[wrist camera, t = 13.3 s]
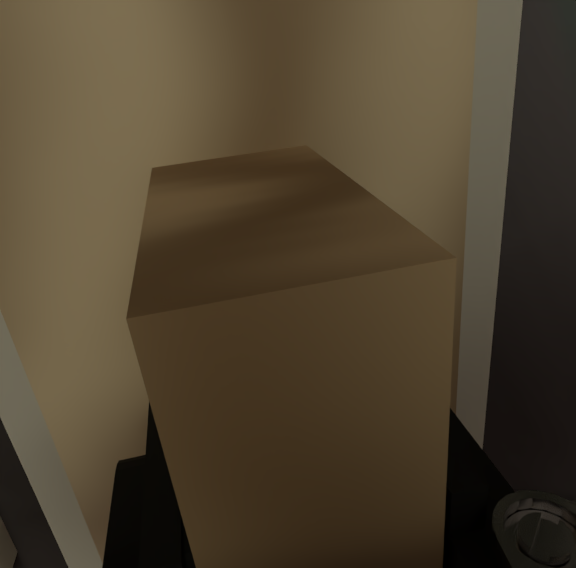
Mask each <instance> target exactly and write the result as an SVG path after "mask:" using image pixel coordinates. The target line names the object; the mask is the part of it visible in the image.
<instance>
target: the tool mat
mask: <svg viewBox="0 0 576 568" xmlns="http://www.w3.org/2000/svg"><path fill="white" fill-rule="evenodd" d="M522 3H523V0H478V3H477V22H476V41H475V60H474V79H473V98H472V117H471V136H470V155H469V174H468V193H467V212H466V231H465V250H464V269H463V288H462V307H461V326H460V345H459V364H458V383H457V402H456V416H457V417H458V419H459V420H460V421H461V422H462V424H463V425H464V426H465V428H466V429H467V430H468V432H469V433H470V434H471V435H472V437H473V438H474V439H475V441H476V442H477V443H478V445H479V446H480V447H481V449H482V450H483V439H484V427H485V416H486V405H487V394H488V383H489V372H490V360H491V349H492V338H493V327H494V316H495V304H496V293H497V282H498V271H499V260H500V249H501V237H502V226H503V215H504V204H505V193H506V182H507V170H508V159H509V148H510V137H511V126H512V115H513V103H514V92H515V81H516V70H517V59H518V48H519V36H520V25H521V14H522ZM0 418H1V420H2V422H3V424H4V427H5V429H6V431H7V433H8V435H9V438H10V440H11V442H12V444H13V446H14V449H15V451H16V453H17V455H18V457H19V460H20V462H21V464H22V466H23V468H24V471H25V473H26V475H27V477H28V479H29V482H30V484H31V486H32V488H33V490H34V493H35V495H36V497H37V499H38V501H39V504H40V506H41V508H42V510H43V512H44V514H45V517H46V519H47V521H48V523H49V525H50V528H51V530H52V532H53V534H54V536H55V539H56V541H57V543H58V545H59V547H60V550H61V552H62V554H63V556H64V558H65V561H66V563H67V565H68V567H69V568H102V566H103V564H102V561H101V559H100V556H99V554H98V551H97V549H96V546H95V544H94V541H93V539H92V536H91V534H90V531H89V529H88V526H87V524H86V521H85V519H84V516H83V514H82V511H81V509H80V506H79V504H78V501H77V499H76V497H75V494H74V492H73V489H72V487H71V484H70V482H69V479H68V477H67V474H66V472H65V469H64V467H63V464H62V462H61V459H60V457H59V454H58V452H57V449H56V447H55V444H54V442H53V439H52V437H51V434H50V432H49V429H48V427H47V425H46V422H45V420H44V417H43V415H42V412H41V410H40V407H39V405H38V402H37V400H36V397H35V395H34V392H33V390H32V387H31V385H30V382H29V380H28V377H27V375H26V372H25V370H24V367H23V365H22V362H21V360H20V358H19V355H18V353H17V350H16V348H15V345H14V343H13V340H12V338H11V335H10V333H9V330H8V328H7V325H6V323H5V320H4V318H3V315H2V313H1V310H0Z"/></svg>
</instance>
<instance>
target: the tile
mask: <svg viewBox="0 0 576 568" xmlns="http://www.w3.org/2000/svg"><path fill="white" fill-rule="evenodd" d="M16 555H17V550H16V548H15V546H14V544H13V542H12V540H11V538H10V536H9V533H8V531H7V529H6V527H5V525H4V523H3V521H2V519H1V517H0V568H13V565H14V562H15V558H16Z"/></svg>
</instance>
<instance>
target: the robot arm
mask: <svg viewBox="0 0 576 568" xmlns="http://www.w3.org/2000/svg"><path fill="white" fill-rule="evenodd" d="M102 568H196V566H195V562H194V559H193V555H192V552H191V548H190V545H189V541H188V537H187V534H186V530H185V527H184V523H183V520H182V516H181V513H180V509H179V505H178V502H177V498H176V495H175V491H174V488H173V484H172V481H171V477H170V473H169V470H168V466H167V463H166V459H165V456H164V452H163V449H162V445H161V441H160V438H159V434H158V431H157V427H156V424H155V420H154V417H153V413H152V409H151V406H150V402H149V410H148V425H147V439H146V454H145V455H142V456H137V457H133V458H128V459H124V460H119V461H118V463H117V466H116V470H115V477H114V485H113V492H112V499H111V507H110V514H109V521H108V529H107V536H106V543H105V551H104V558H103V566H102ZM443 568H576V505H574V504H573V503H571V502H570V501H569V500H566V499H564V498H562V497H559V496H557V495H555V494H552V493H547V492H542V491H537V490H522V491H517V492H514V490H513V489H512V488H511V486H510V485H509V484H508V483H507V481H506V480H505V479H504V477H503V476H502V475H501V473H500V472H499V471H498V469H497V468H496V467H495V466H494V464H493V463H492V462H491V460H490V459H489V458H488V456H487V455H486V454H485V452H484V451H483V450H482V449H481V447H480V446H479V445H478V443H477V442H476V441H475V439H474V438H473V437H472V435H471V434H470V433H469V432H468V430H467V429H466V428H465V426H464V425H463V424H462V422H461V421H460V420H459V419H458V417H457V416H456V415H455V413H454V412H453V411H452V409H451V408H450V416H449V438H448V460H447V482H446V504H445V526H444V548H443Z"/></svg>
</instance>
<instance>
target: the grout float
mask: <svg viewBox="0 0 576 568" xmlns="http://www.w3.org/2000/svg"><path fill="white" fill-rule="evenodd" d="M477 3H478V0H0V310H1V313H2V315H3V318H4V320H5V323H6V325H7V328H8V330H9V333H10V335H11V338H12V340H13V343H14V345H15V348H16V350H17V353H18V355H19V358H20V360H21V362H22V365H23V367H24V370H25V372H26V375H27V377H28V380H29V382H30V385H31V387H32V390H33V392H34V395H35V397H36V400H37V402H38V405H39V407H40V410H41V412H42V415H43V417H44V420H45V422H46V425H47V427H48V429H49V432H50V434H51V437H52V439H53V442H54V444H55V447H56V449H57V452H58V454H59V457H60V459H61V462H62V464H63V467H64V469H65V472H66V474H67V477H68V479H69V482H70V484H71V487H72V489H73V492H74V494H75V497H76V499H77V501H78V504H79V506H80V509H81V511H82V514H83V516H84V519H85V521H86V524H87V526H88V529H89V531H90V534H91V536H92V539H93V541H94V544H95V546H96V549H97V551H98V554H99V556H100V559H101V561H102V564H103V558H104V551H105V543H106V536H107V529H108V521H109V514H110V507H111V499H112V492H113V485H114V477H115V470H116V466H117V463H118V461H119V460H124V459H128V458H133V457H137V456H142V455H145V454H146V439H147V425H148V410H149V402H150V406H151V409H152V413H153V417H154V420H155V424H156V427H157V431H158V434H159V438H160V441H161V445H162V449H163V452H164V456H165V459H166V463H167V466H168V470H169V473H170V477H171V481H172V484H173V488H174V491H175V495H176V498H177V502H178V505H179V509H180V513H181V516H182V520H183V523H184V527H185V530H186V534H187V537H188V541H189V545H190V548H191V552H192V555H193V559H194V562H195V566H196V568H443V548H444V526H445V504H446V482H447V460H448V438H449V416H450V408H451V409H452V411H453V412H454V413H455V415H456V402H457V383H458V364H459V345H460V326H461V307H462V288H463V269H464V250H465V231H466V212H467V193H468V174H469V155H470V136H471V117H472V98H473V79H474V60H475V41H476V22H477Z"/></svg>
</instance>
